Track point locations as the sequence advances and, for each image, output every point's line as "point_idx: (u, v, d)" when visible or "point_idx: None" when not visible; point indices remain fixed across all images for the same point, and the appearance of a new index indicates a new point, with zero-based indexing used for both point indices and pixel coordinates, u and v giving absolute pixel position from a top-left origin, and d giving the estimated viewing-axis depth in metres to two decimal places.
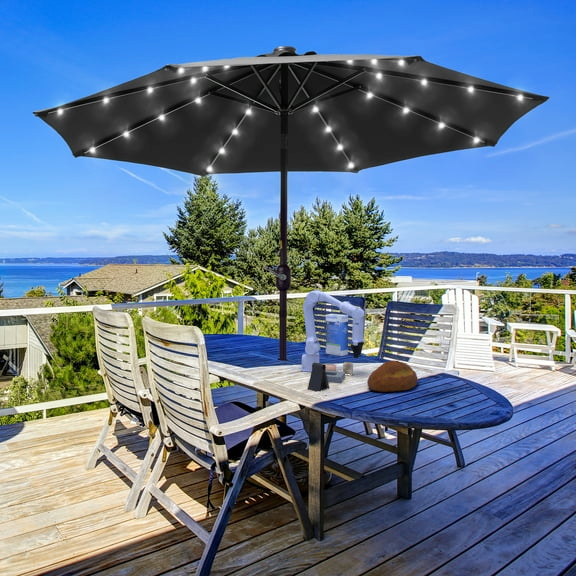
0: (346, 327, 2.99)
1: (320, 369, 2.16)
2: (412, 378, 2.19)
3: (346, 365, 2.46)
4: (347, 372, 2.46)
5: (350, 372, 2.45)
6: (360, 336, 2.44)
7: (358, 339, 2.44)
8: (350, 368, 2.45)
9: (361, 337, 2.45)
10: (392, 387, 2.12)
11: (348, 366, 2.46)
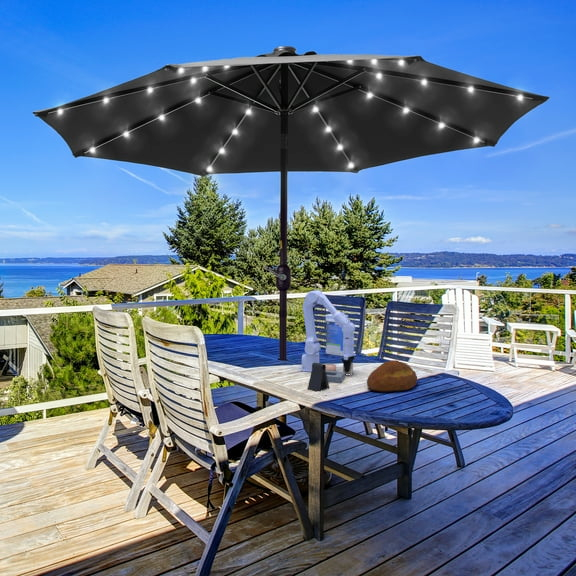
0: None
1: (320, 369, 2.16)
2: (412, 378, 2.19)
3: None
4: (347, 372, 2.46)
5: (350, 372, 2.45)
6: (351, 351, 2.45)
7: (349, 353, 2.45)
8: (350, 368, 2.45)
9: (352, 351, 2.45)
10: (391, 387, 2.12)
11: None
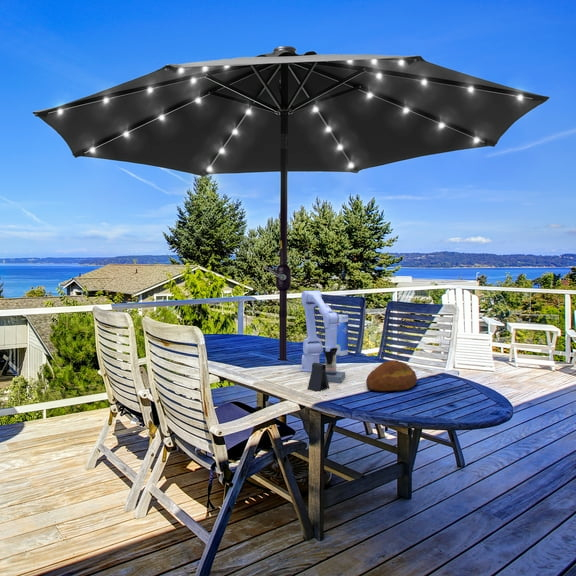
0: (346, 327, 2.99)
1: (320, 369, 2.16)
2: (411, 378, 2.19)
3: None
4: (330, 365, 2.34)
5: (333, 364, 2.34)
6: (333, 342, 2.33)
7: (331, 345, 2.33)
8: (333, 360, 2.33)
9: (334, 343, 2.33)
10: (390, 386, 2.13)
11: None
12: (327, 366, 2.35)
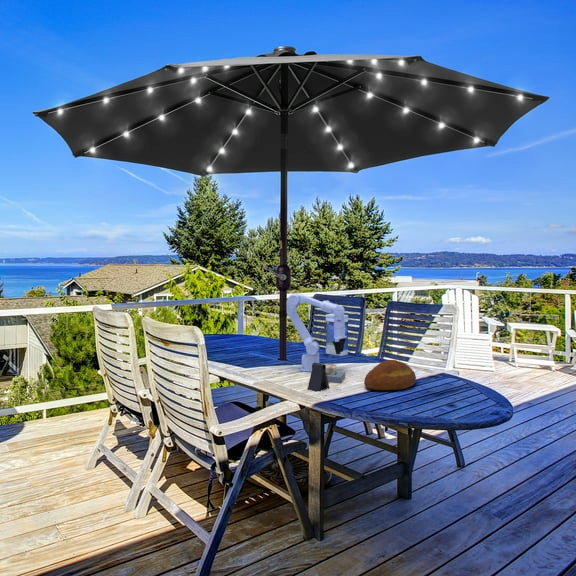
0: (346, 327, 2.99)
1: (320, 369, 2.16)
2: (409, 377, 2.20)
3: (328, 369, 2.34)
4: None
5: None
6: (342, 333, 2.50)
7: (340, 336, 2.50)
8: (333, 372, 2.34)
9: (342, 334, 2.50)
10: (387, 386, 2.14)
11: (330, 370, 2.34)
12: None
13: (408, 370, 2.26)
